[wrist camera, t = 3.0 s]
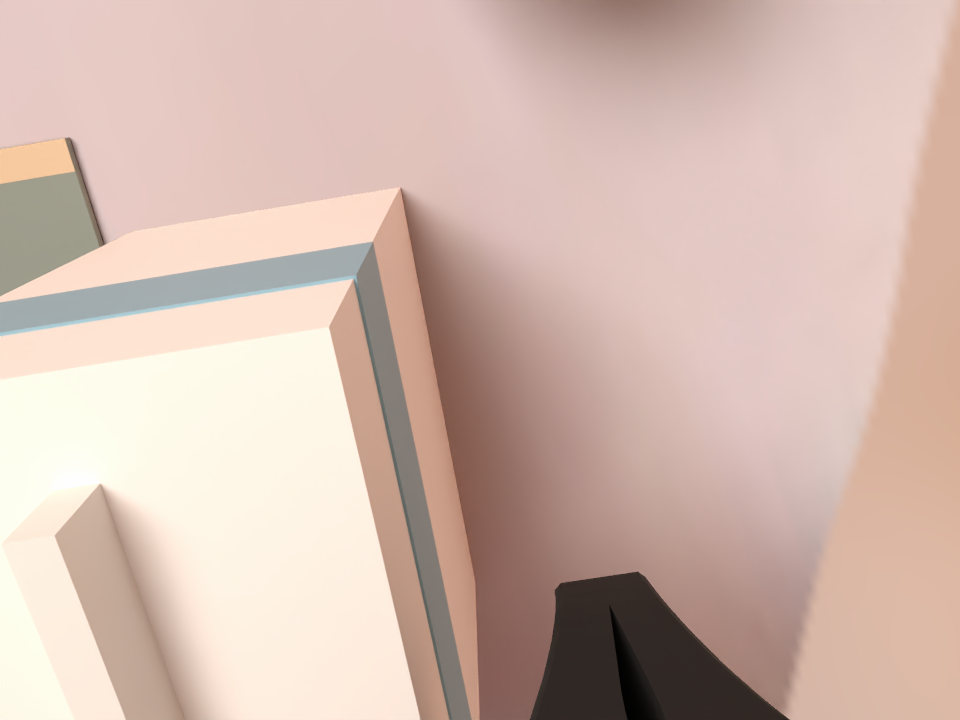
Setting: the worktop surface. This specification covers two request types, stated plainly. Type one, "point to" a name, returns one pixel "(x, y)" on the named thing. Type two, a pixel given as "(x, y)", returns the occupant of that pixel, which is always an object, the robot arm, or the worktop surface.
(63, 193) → the display mat
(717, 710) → the robot arm
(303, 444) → the milk carton
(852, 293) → the worktop surface
